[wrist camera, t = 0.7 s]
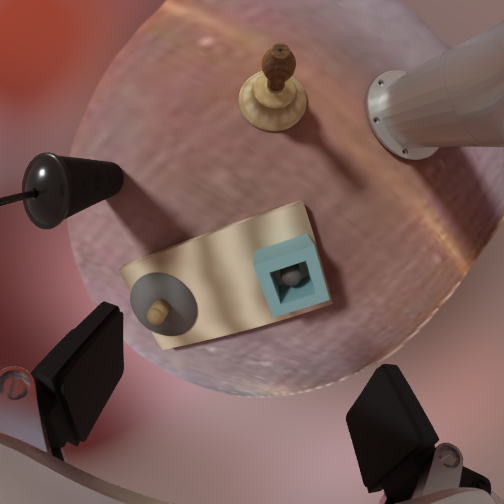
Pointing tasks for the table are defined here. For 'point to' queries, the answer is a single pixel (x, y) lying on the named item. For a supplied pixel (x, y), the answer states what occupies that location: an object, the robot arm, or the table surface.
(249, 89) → the hand bell
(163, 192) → the table surface
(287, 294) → the collar
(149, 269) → the base board
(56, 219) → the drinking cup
